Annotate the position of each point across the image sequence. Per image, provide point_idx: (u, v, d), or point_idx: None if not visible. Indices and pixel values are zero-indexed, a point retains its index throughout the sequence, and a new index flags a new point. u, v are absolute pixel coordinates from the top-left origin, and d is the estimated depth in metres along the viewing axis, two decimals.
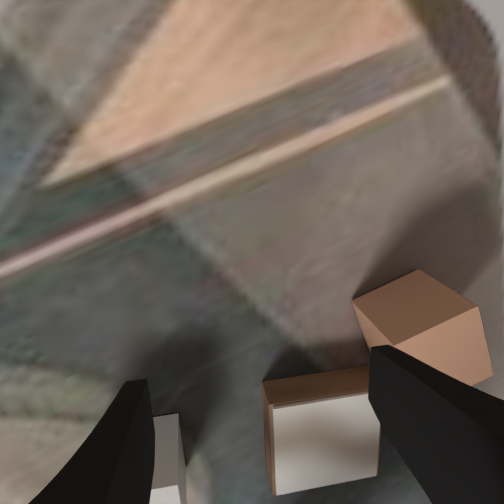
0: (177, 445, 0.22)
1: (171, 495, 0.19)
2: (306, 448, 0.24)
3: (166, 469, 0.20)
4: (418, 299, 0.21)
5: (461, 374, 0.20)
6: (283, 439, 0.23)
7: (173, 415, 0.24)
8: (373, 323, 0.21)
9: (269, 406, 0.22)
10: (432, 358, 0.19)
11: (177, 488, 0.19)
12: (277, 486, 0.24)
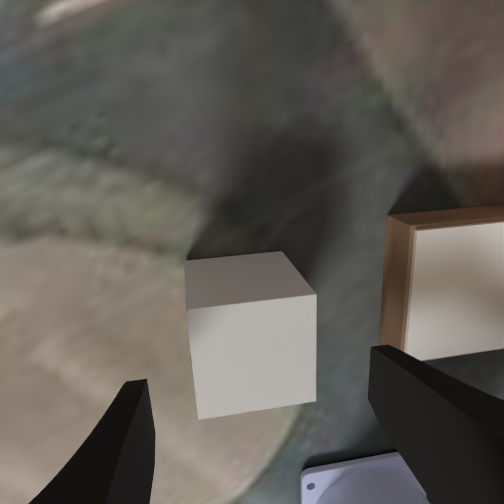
0: None
1: (306, 311, 0.14)
2: (449, 295, 0.18)
3: (292, 284, 0.15)
4: None
5: None
6: (424, 278, 0.18)
7: (277, 252, 0.18)
8: None
9: (410, 229, 0.17)
10: None
11: (315, 300, 0.14)
12: (407, 350, 0.19)
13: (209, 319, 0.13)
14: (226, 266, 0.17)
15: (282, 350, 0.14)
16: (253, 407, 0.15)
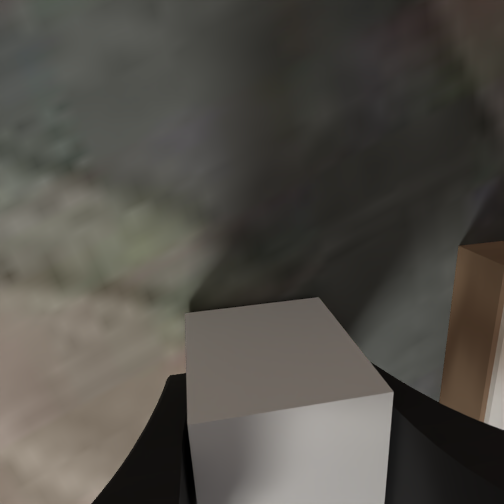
0: None
1: (376, 417, 0.09)
2: None
3: (350, 368, 0.10)
4: None
5: None
6: None
7: (313, 300, 0.13)
8: None
9: (503, 270, 0.12)
10: None
11: (391, 400, 0.09)
12: None
13: (225, 436, 0.08)
14: (243, 325, 0.12)
15: (336, 473, 0.09)
16: None
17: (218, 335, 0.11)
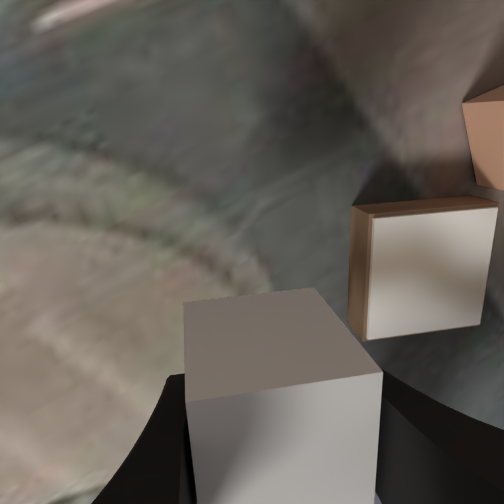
0: (338, 322, 0.11)
1: (366, 396, 0.09)
2: (406, 278, 0.20)
3: (342, 351, 0.10)
4: None
5: None
6: (382, 262, 0.20)
7: (308, 290, 0.14)
8: None
9: (369, 217, 0.19)
10: None
11: (380, 380, 0.09)
12: (369, 328, 0.21)
13: (222, 413, 0.09)
14: (240, 312, 0.12)
15: (328, 451, 0.09)
16: None
17: (215, 322, 0.12)
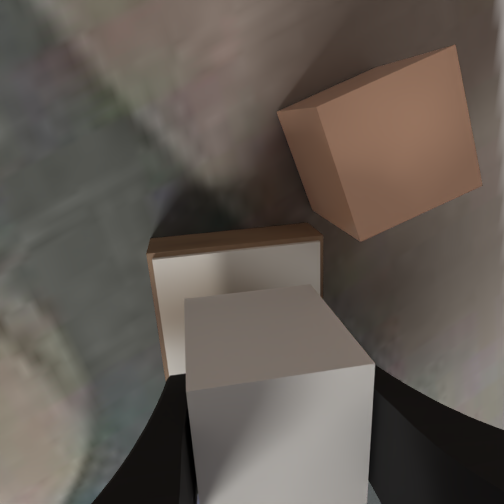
0: (334, 317, 0.12)
1: (359, 387, 0.10)
2: None
3: (336, 344, 0.10)
4: (367, 76, 0.14)
5: (431, 177, 0.13)
6: (174, 312, 0.16)
7: (304, 286, 0.14)
8: (295, 109, 0.13)
9: (148, 257, 0.15)
10: (382, 140, 0.12)
11: (372, 371, 0.10)
12: None
13: (221, 403, 0.09)
14: (239, 308, 0.13)
15: (323, 439, 0.10)
16: None
17: (215, 317, 0.12)
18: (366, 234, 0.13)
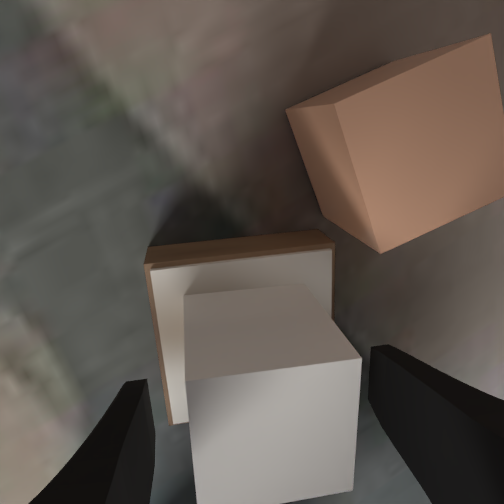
0: None
1: (347, 380, 0.10)
2: None
3: (326, 340, 0.11)
4: (387, 70, 0.12)
5: (459, 182, 0.11)
6: (173, 327, 0.14)
7: (299, 285, 0.15)
8: (308, 106, 0.12)
9: (145, 268, 0.14)
10: (406, 140, 0.11)
11: (359, 366, 0.10)
12: (173, 409, 0.16)
13: (217, 392, 0.10)
14: (235, 305, 0.13)
15: (312, 429, 0.11)
16: (271, 501, 0.11)
17: (213, 313, 0.13)
18: (387, 245, 0.12)
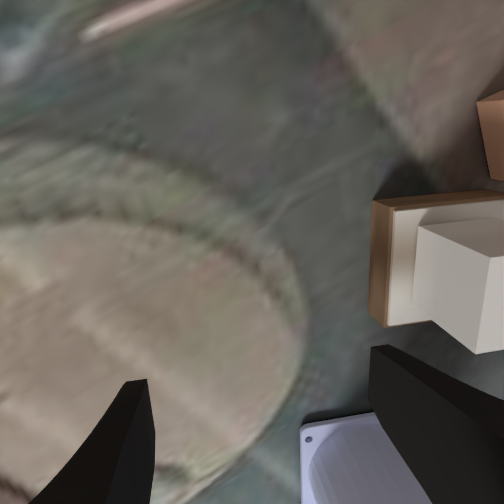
0: None
1: None
2: None
3: None
4: None
5: None
6: (402, 252, 0.21)
7: (493, 218, 0.21)
8: None
9: (390, 210, 0.20)
10: None
11: None
12: (390, 314, 0.22)
13: None
14: (465, 228, 0.19)
15: None
16: None
17: (455, 232, 0.19)
18: None
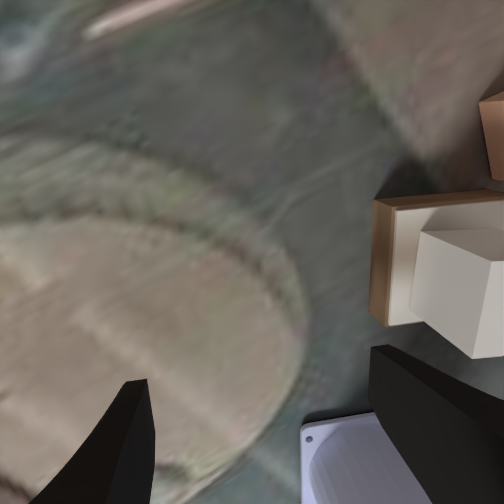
0: None
1: None
2: None
3: None
4: None
5: None
6: (404, 252, 0.21)
7: (494, 229, 0.21)
8: None
9: (391, 210, 0.20)
10: None
11: None
12: (391, 314, 0.22)
13: None
14: (466, 236, 0.20)
15: None
16: None
17: (457, 238, 0.19)
18: None
